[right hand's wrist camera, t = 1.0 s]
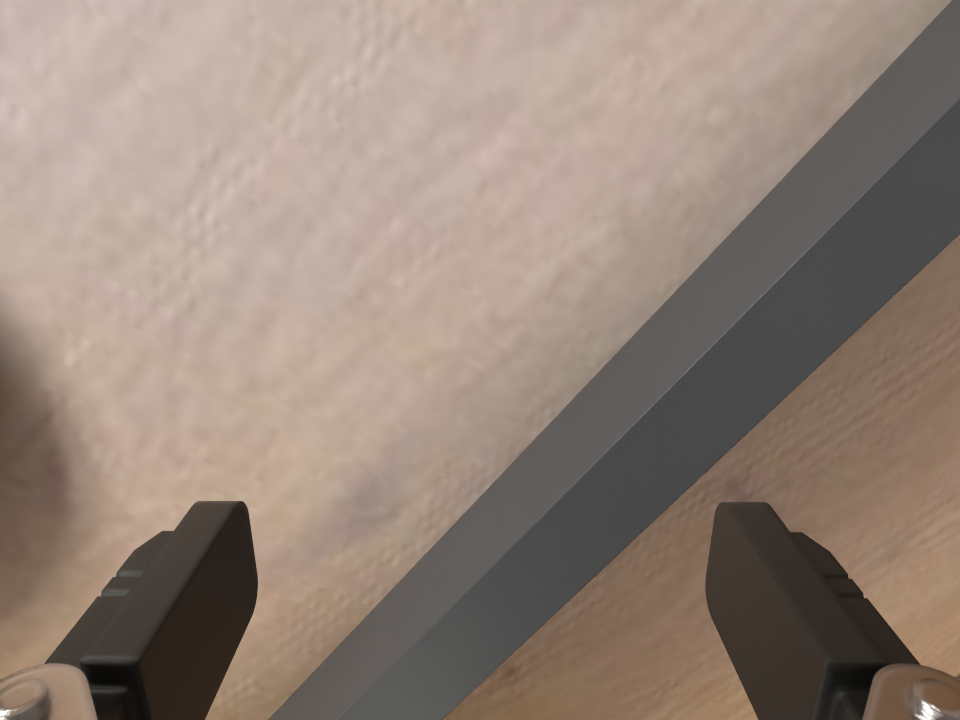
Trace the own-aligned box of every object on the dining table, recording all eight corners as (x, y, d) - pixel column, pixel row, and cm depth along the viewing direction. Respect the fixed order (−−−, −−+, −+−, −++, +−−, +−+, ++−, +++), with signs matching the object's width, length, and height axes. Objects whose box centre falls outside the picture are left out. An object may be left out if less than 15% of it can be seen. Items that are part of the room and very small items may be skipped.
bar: (1019, -71, 30) (1187, -131, 23) (1074, -3, 31) (1252, -40, 24) (152, 841, 50) (98, 960, 43) (202, 866, 51) (157, 987, 44)
